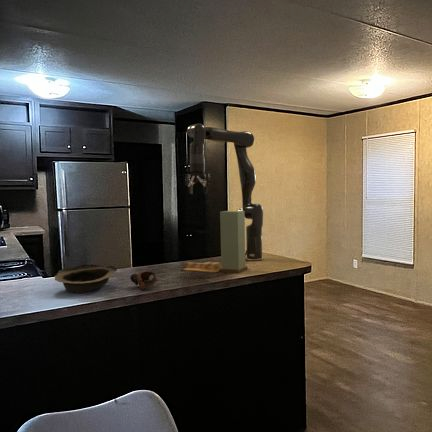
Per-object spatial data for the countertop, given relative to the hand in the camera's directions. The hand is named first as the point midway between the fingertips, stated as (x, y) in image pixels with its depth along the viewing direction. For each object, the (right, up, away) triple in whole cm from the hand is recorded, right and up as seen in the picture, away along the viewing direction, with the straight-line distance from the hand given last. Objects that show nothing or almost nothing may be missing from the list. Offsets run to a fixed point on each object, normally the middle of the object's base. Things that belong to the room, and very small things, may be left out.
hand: (198, 194), depth 231 cm
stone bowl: (-41, -44, -38) cm, 71 cm away
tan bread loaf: (+2, -39, +4) cm, 40 cm away
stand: (+19, -40, -1) cm, 44 cm away
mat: (+3, -40, +4) cm, 40 cm away
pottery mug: (-17, -43, -36) cm, 59 cm away
